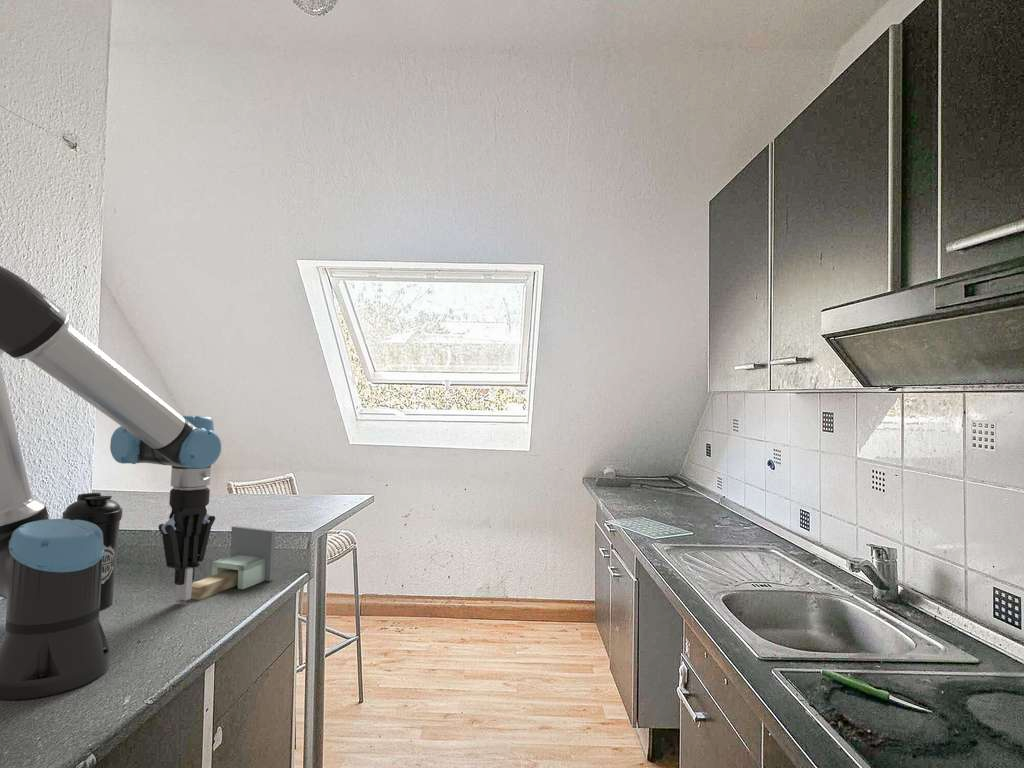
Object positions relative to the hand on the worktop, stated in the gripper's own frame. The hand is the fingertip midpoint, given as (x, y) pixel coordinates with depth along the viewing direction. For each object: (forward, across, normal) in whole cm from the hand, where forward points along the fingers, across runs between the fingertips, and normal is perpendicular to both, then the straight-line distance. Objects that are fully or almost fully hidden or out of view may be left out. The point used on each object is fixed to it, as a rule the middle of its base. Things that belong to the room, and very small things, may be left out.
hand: (183, 598), depth 125 cm
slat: (+1, +10, +1) cm, 10 cm away
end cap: (+1, +16, 0) cm, 16 cm away
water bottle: (+1, -8, +16) cm, 18 cm away
